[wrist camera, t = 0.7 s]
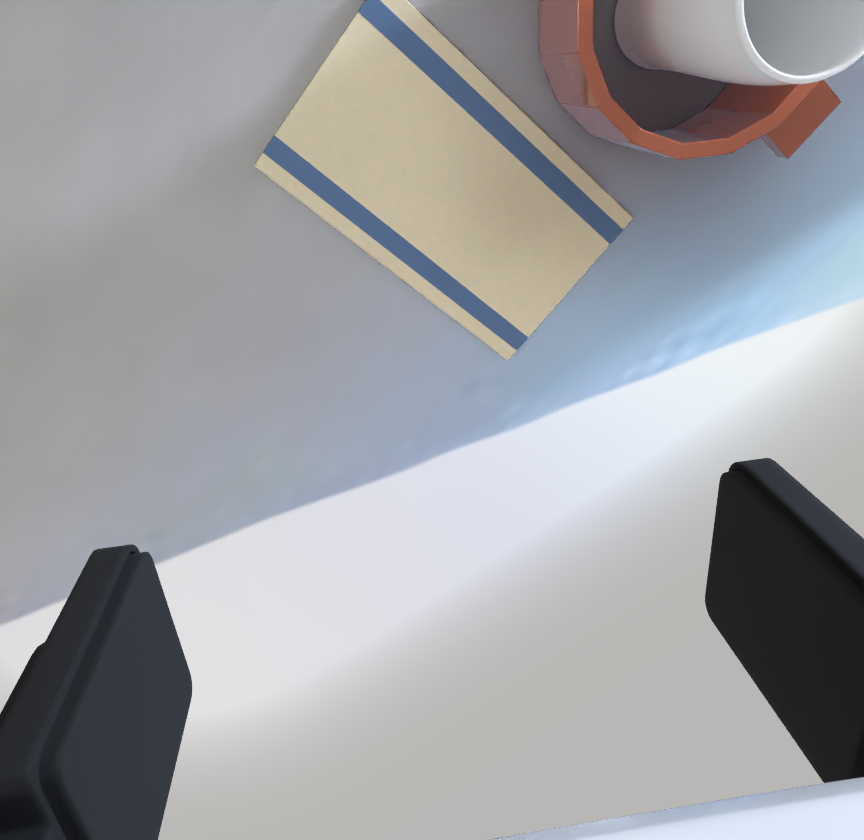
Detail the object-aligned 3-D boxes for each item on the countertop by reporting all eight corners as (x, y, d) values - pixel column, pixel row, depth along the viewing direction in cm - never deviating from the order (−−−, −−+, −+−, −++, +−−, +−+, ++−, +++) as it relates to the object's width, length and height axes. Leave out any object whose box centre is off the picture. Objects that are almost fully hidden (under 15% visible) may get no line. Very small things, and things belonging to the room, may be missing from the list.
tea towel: (254, 165, 40) (253, 165, 39) (381, -23, 36) (381, -24, 36) (506, 358, 47) (507, 361, 47) (631, 217, 44) (633, 218, 43)
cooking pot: (461, 7, 38) (486, -6, 31) (639, -240, 34) (708, -311, 28) (668, 213, 44) (723, 235, 38) (837, 25, 40) (928, 15, 34)
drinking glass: (634, -80, 37) (803, -169, 23) (736, -22, 39) (947, -74, 25) (577, 54, 39) (701, 42, 26) (675, 102, 41) (839, 114, 28)
